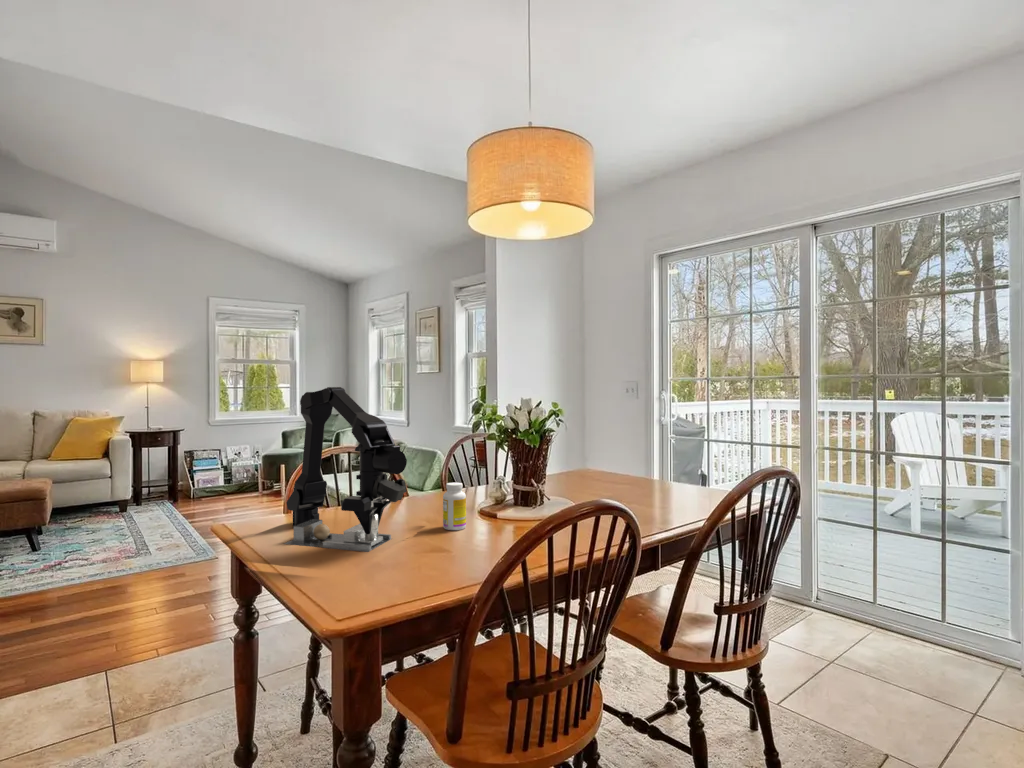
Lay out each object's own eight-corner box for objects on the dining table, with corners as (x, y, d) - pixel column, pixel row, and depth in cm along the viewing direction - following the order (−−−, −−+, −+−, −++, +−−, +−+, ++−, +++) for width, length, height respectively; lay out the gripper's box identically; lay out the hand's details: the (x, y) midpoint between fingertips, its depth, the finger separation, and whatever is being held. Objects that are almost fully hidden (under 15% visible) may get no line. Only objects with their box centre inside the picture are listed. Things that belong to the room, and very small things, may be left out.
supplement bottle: (469, 526, 169) (469, 482, 168) (460, 531, 162) (460, 486, 162) (449, 524, 171) (449, 481, 171) (439, 529, 164) (439, 484, 164)
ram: (343, 545, 142) (343, 516, 142) (360, 537, 150) (360, 509, 150) (369, 547, 141) (369, 518, 140) (385, 539, 148) (385, 511, 148)
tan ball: (310, 541, 147) (310, 525, 147) (319, 536, 151) (319, 521, 151) (323, 542, 146) (323, 526, 146) (332, 538, 150) (332, 522, 150)
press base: (283, 549, 145) (283, 527, 145) (312, 537, 156) (312, 517, 156) (368, 558, 138) (368, 535, 138) (392, 544, 150) (392, 523, 150)
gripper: (382, 477, 134) (382, 544, 134) (416, 466, 151) (416, 525, 152) (339, 475, 137) (340, 541, 137) (378, 464, 155) (379, 522, 155)
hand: (371, 532), depth 145 cm, fingers closed on ram, 3 cm apart
